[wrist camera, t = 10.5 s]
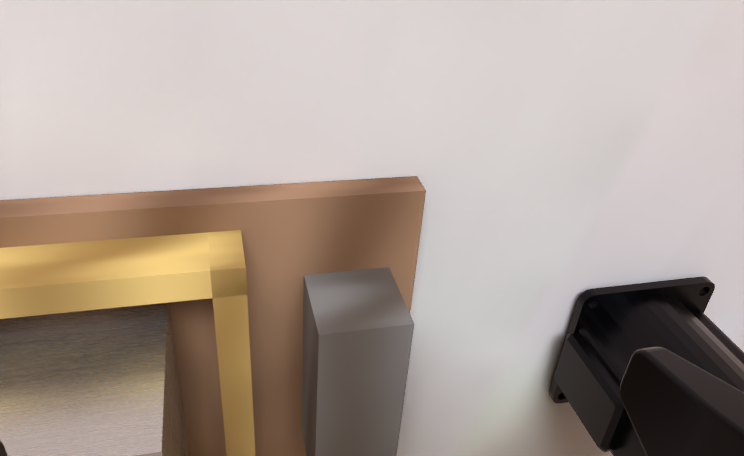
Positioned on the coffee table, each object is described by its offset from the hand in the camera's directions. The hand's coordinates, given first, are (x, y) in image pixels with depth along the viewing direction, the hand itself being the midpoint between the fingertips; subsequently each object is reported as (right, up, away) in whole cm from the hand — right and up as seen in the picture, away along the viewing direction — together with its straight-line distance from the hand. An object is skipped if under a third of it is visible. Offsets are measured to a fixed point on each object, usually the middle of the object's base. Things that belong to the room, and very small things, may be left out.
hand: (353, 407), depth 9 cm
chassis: (-7, -2, +14) cm, 16 cm away
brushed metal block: (-9, -3, +13) cm, 16 cm away
